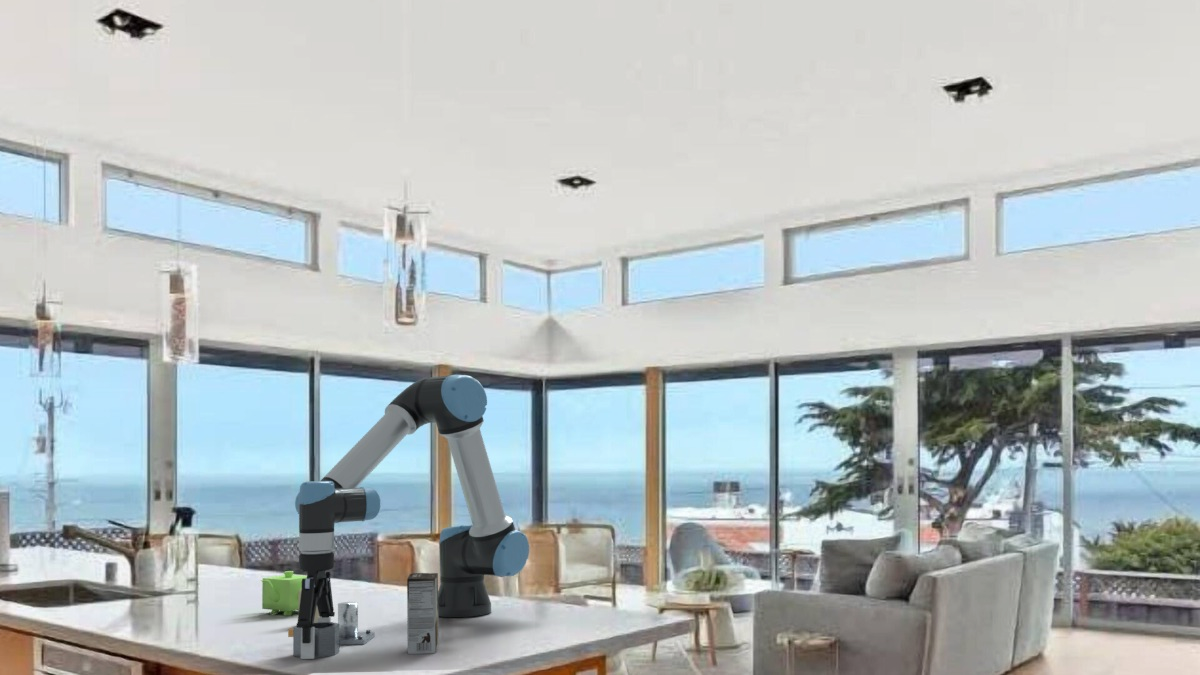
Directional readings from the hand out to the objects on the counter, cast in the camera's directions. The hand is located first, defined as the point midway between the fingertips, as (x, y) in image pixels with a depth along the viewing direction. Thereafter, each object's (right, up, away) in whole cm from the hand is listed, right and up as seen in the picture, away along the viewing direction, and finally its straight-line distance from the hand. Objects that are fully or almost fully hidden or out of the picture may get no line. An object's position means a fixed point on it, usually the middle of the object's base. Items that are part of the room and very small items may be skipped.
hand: (316, 652), depth 235 cm
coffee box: (+23, 0, +1) cm, 23 cm away
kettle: (-23, -7, +59) cm, 64 cm away
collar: (0, 0, 0) cm, 0 cm away
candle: (-12, -4, +39) cm, 41 cm away
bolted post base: (+4, -1, +15) cm, 15 cm away
